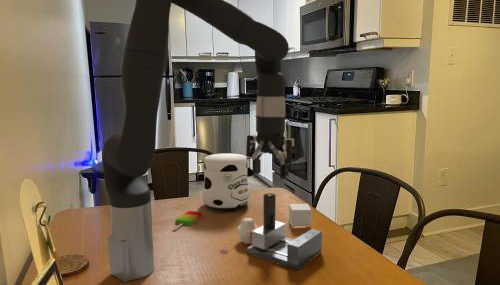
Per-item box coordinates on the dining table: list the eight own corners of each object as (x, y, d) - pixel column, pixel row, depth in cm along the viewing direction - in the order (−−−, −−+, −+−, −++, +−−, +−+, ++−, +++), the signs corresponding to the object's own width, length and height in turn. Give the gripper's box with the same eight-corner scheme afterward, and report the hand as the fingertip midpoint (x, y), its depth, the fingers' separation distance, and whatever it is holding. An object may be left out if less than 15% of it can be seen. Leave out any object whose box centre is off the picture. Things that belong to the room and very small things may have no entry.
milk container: (249, 213, 131) (249, 162, 128) (199, 213, 131) (197, 162, 128) (250, 198, 148) (250, 152, 145) (205, 198, 148) (204, 152, 146)
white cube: (307, 221, 124) (307, 203, 123) (310, 228, 118) (311, 209, 117) (288, 221, 124) (289, 203, 123) (291, 228, 118) (291, 210, 117)
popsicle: (203, 217, 129) (203, 211, 129) (181, 234, 115) (181, 228, 115) (188, 215, 131) (188, 210, 130) (165, 232, 117) (165, 226, 116)
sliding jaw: (264, 249, 98) (264, 201, 96) (250, 245, 101) (250, 197, 99) (285, 237, 106) (286, 192, 104) (272, 233, 109) (272, 189, 107)
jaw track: (297, 270, 91) (298, 247, 90) (247, 253, 101) (247, 231, 100) (321, 253, 101) (321, 231, 100) (273, 238, 110) (273, 218, 109)
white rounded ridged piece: (246, 235, 113) (246, 212, 111) (263, 240, 109) (263, 217, 108) (232, 242, 108) (232, 218, 107) (249, 248, 104) (249, 223, 103)
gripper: (239, 113, 99) (240, 174, 102) (286, 116, 91) (284, 183, 93) (257, 112, 105) (257, 169, 108) (302, 114, 96) (300, 177, 99)
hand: (270, 175), depth 100 cm, fingers open, 8 cm apart
